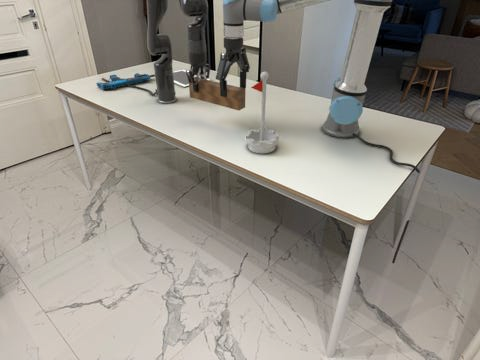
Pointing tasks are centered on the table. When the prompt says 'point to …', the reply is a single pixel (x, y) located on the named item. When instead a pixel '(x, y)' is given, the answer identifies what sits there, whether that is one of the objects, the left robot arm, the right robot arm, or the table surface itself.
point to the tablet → (181, 78)
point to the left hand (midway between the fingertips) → (199, 90)
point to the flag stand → (262, 125)
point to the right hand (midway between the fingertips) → (233, 91)
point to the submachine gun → (124, 81)
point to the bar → (211, 94)
